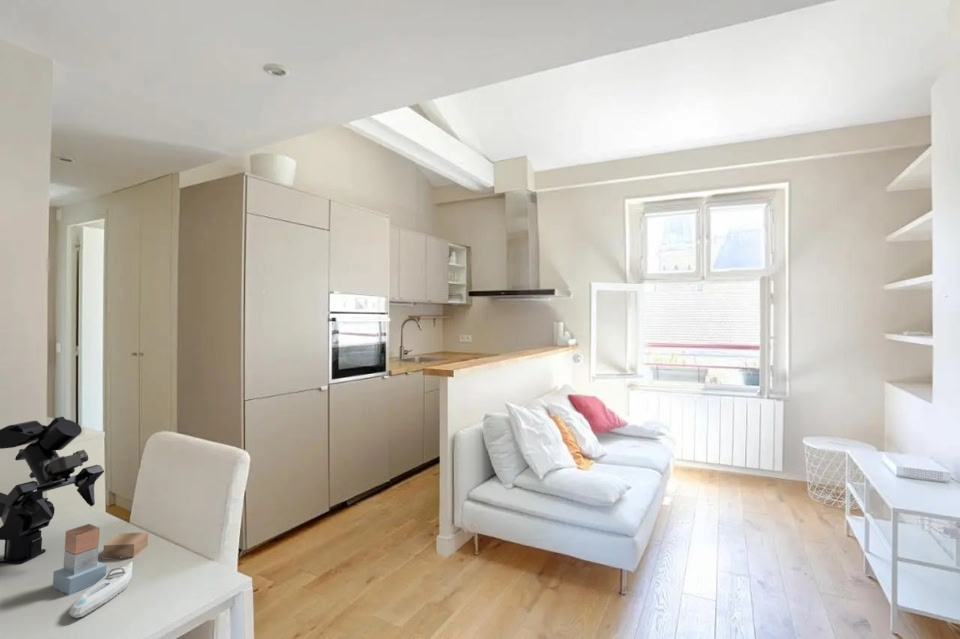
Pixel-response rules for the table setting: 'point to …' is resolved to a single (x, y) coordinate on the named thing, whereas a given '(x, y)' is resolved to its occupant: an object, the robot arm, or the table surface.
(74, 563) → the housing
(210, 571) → the table surface
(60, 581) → the stand
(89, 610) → the spaceship
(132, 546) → the stand
